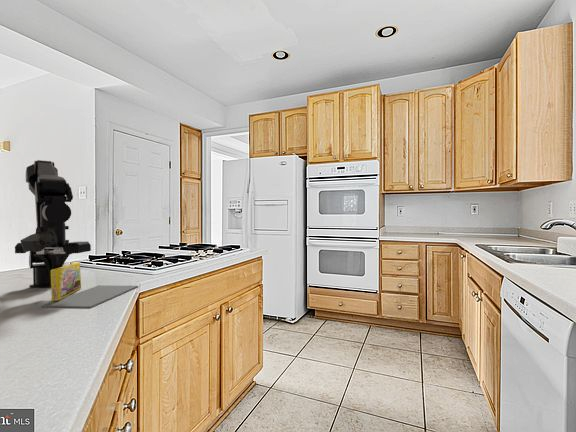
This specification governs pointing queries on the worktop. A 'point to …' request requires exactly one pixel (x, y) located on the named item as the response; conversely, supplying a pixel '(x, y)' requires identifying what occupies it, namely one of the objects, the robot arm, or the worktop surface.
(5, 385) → the worktop surface
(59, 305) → the mat
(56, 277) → the candy box
